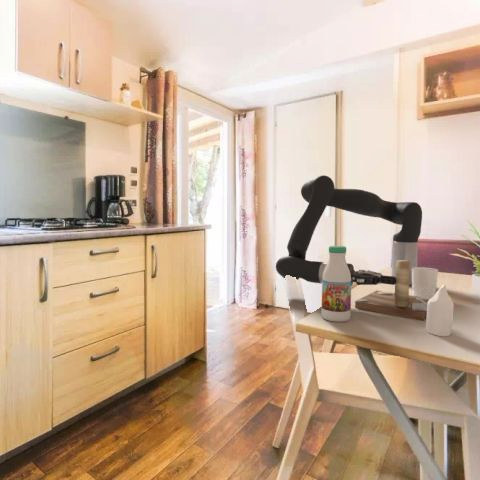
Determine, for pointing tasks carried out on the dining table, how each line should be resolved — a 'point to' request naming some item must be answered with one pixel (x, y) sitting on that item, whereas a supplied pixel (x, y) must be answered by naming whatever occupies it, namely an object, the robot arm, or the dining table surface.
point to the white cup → (424, 282)
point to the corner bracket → (419, 306)
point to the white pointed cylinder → (440, 313)
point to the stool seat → (391, 305)
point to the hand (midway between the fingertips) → (395, 280)
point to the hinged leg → (402, 283)
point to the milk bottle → (336, 286)
